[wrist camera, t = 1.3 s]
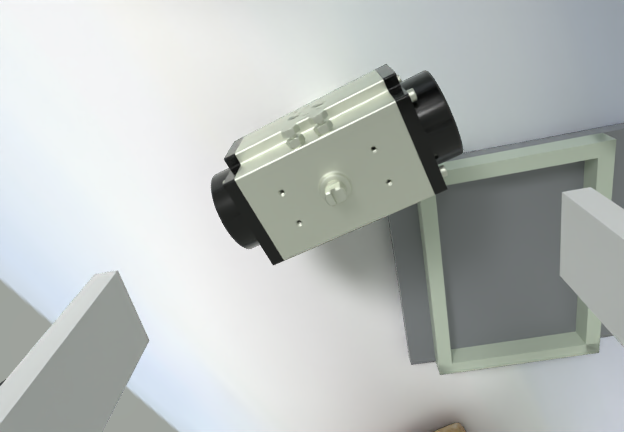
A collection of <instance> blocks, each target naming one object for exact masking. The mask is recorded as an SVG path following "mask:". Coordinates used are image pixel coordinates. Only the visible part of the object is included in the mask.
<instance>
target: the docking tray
mask: <svg viewBox="0 0 624 432" xmlns="http://www.w3.org/2000/svg"><path fill="white" fill-rule="evenodd" d="M441 165H444V166H445V168H446V170H447V173H448V176H446V177H444V178H443V179H444V181H445V184H446V186H447V189H448V190H446V191H443V192H441V193H439V194H436V195H434V196H432V197H429V198H427V199H425V200H423V201H420V202H418V203H416V204H413V205H411V206H409V207H406V208H404V209H402V210H400V211H397V212H395V213H393V214H390V215H388V218H389V225H390V231H391V238H392V245H393V252H394V258H395V265H396V272H397V278H398V285H399V292H400V299H401V305H402V312H403V319H404V325H405V332H406V339H407V346H408V352H409V358H410V362H411V365H413V364H420V363H427V362H434V361H436V364H437V367H438V370H439V373H440V375H443V374H450V373H457V372H464V371H472V370H479V369H486V368H493V367H500V366H507V365H514V364H522V363H529V362H536V361H543V360H550V359H557V358H564V357H572V356H579V355H586V354H593V353H599V344H600V338H601V337H608V336H613V335H612V334H611V332H610V331H609V330H608V329H607V328H606V327H605V326H604V325H603V323H602V322H601V321H600V320H599V319H598V318H597V317H596V316H595V314H594V313H593V312H592V311H591V310H590V309H589V308H588V307H587V305H586V304H585V303H584V302H583V301H582V300H581V299H580V298H579V296H578V295H577V294H576V293H575V292H574V291H573V290H572V289H571V288H570V286H569V285H568V284H567V283H566V282H565V281H564V280H563V279H562V277H561V276H560V246H561V208H562V192H565V191H571V190H577V189H582V188H588V187H591V188H593V189H594V190H596V191H597V192H599V193H600V194H602V195H603V196H605V197H606V198H608V199H609V200H611V201H612V202H614V203H615V204H617V205H618V206H620V207H621V208H623V209H624V123H621V124H616V125H611V126H605V127H600V128H595V129H590V130H584V131H579V132H574V133H568V134H563V135H558V136H552V137H547V138H542V139H536V140H531V141H526V142H520V143H515V144H510V145H504V146H499V147H494V148H488V149H483V150H478V151H472V152H467V153H462V154H461V155H459V156H457V157H455V158H452V159H450V160H448V161H446V162H443V163H441V164H439V165H438V166H441Z"/></svg>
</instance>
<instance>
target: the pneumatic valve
mask: <svg viewBox="0 0 624 432" xmlns="http://www.w3.org/2000/svg"><path fill="white" fill-rule="evenodd" d="M462 153H463V146H462V141H461V137H460V134H459V131H458V128H457V125H456V122H455V120H454V117H453V115H452V113H451V110H450V108H449V106H448V103H447V101H446V99H445V97H444V95H443V93H442V91H441V89H440V88H439V86H438V84H437V82H436V81H435V79H434V78H433V76H432V75H431V74H430V73H429V72H428V71H426V70H425V71H422V72H420V73H418V74H416V75H414V76H412V77H410V78H408V79H406V80H404V81H401V79H400V77H399V75H396V73H395V72H394V71H393V70H392V69H391V68H390V67H389V66H388V65H387V64H385V65H383V66H381V67H379V68H377V69H375V70H373V71H371V72H369V73H367V74H365V75H363V76H361V77H360V78H358V79H356V80H354V81H352V82H350V83H348V84H346V85H344V86H342V87H340V88H338V89H336V90H334V91H332V92H330V93H328V94H326V95H324V96H322V97H320V98H318V99H316V100H314V101H312V102H311V103H309V104H307V105H305V106H303V107H301V108H299V109H297V110H295V111H293V112H291V113H289V114H287V115H285V116H283V117H281V118H279V119H277V120H275V121H273V122H271V123H269V124H267V125H265V126H264V127H262V128H260V129H258V130H256V131H254V132H252V133H250V134H248V135H246V136H244V137H242V138H240V139H238V140H236V141H234V143H233V145H232V146H231V148H230V150H229V151H228V153H227V155H226V156H225V158H224V160H225V162H226V164H227V165H228V167H229V168H228V169H226V170H224V171H222V172H219V173H217V174H216V175H214V176H213V178H212V181H211V193H212V198H213V202H214V205H215V208H216V210H217V213H218V215H219V217H220V219H221V221H222V223H223V225H224V227H225V228H226V230H227V231H228V233H229V234H230V235H231V237H232V238H233V239H234V240H235V241H236V242H237V243H238V244H239V245H240V246H242V247H244V248H246V249H252V248H254V247H256V246H259V245H261V247H262V248H263V250H264V252H265V253H266V255H267V256H268V258H269V259H270V261H271V263H272V264H273V265H276V264H278V263H280V262H282V261H285V260H287V259H289V258H292V257H294V256H296V255H298V254H301V253H303V252H305V251H308V250H310V249H312V248H315V247H317V246H319V245H321V244H324V243H326V242H328V241H331V240H333V239H335V238H338V237H340V236H342V235H344V234H347V233H349V232H351V231H354V230H356V229H358V228H361V227H363V226H365V225H367V224H370V223H372V222H374V221H377V220H379V219H381V218H383V217H386V216H388V215H390V214H393V213H395V212H397V211H400V210H402V209H404V208H406V207H409V206H411V205H413V204H416V203H418V202H420V201H423V200H425V199H427V198H429V197H432V196H434V195H436V194H439V193H441V192H443V191H446V190H448V189H447V186H446V184H445V181H444V179H443V178H444V177H446V176H448V173H447V170H446V168H445V166H444V165H441V166H438V165H439V164H441V163H443V162H446V161H448V160H450V159H452V158H455V157H457V156H459V155H461V154H462Z"/></svg>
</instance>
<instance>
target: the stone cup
mask: <svg viewBox="0 0 624 432" xmlns="http://www.w3.org/2000/svg"><path fill="white" fill-rule="evenodd" d="M434 432H466V430H465V429H464V427H463V426H461V424H460V423H454V424H451V425H448V426H445V427H443V428H441V429H438V430H436V431H434Z"/></svg>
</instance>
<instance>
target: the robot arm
mask: <svg viewBox="0 0 624 432" xmlns="http://www.w3.org/2000/svg"><path fill="white" fill-rule="evenodd" d="M560 276H561V277H562V279H563V280H564V281H565V282H566V283H567V284H568V285H569V286H570V288H571V289H572V290H573V291H574V292H575V293H576V294H577V295H578V296H579V298H580V299H581V300H582V301H583V302H584V303H585V304H586V305H587V307H588V308H589V309H590V310H591V311H592V312H593V313H594V314H595V316H596V317H597V318H598V319H599V320H600V321H601V322H602V323H603V325H604V326H605V327H606V328H607V329H608V330H609V331H610V332H611V334H612V335H613V336H614V337H615V338H616V339H617V340H618V341H619V343H620V344H621V345H622V346H623V347H624V209H623V208H621V207H620V206H618V205H617V204H615V203H614V202H612V201H611V200H609V199H608V198H606V197H605V196H603V195H602V194H600V193H599V192H597V191H596V190H594V189H593V188H591V187H588V188H582V189H577V190H571V191H565V192H562V208H561V246H560ZM148 342H149V339H148V336H147V334H146V332H145V330H144V328H143V325H142V323H141V321H140V319H139V316H138V314H137V312H136V310H135V308H134V305H133V303H132V301H131V299H130V296H129V294H128V292H127V290H126V288H125V285H124V283H123V281H122V279H121V276H120V274H119V272H118V270H117V271H111V272H105V273H100V274H94V275H93V277H92V278H91V279H90V280H89V281H88V283H87V284H86V285H85V286H84V287H83V289H82V290H81V291H80V292H79V293H78V294H77V296H76V297H75V298H74V299H73V300H72V302H71V303H70V304H69V305H68V306H67V308H66V309H65V310H64V311H63V312H62V314H61V315H60V316H59V317H58V318H57V319H56V321H55V322H54V323H53V324H52V325H51V327H50V328H49V329H48V330H47V331H46V333H45V334H44V335H43V336H42V337H41V339H40V340H39V341H38V342H37V344H35V346H34V347H33V348H32V349H31V351H30V352H29V353H28V354H27V355H26V356H25V358H24V359H23V360H22V361H21V363H20V364H19V365H18V366H17V367H16V369H14V371H13V372H12V373H11V374H10V376H9V377H8V378H7V379H5V380H4V381H3V382H1V383H0V432H103V430H104V428H105V426H106V424H107V422H108V420H109V418H110V416H111V414H112V412H113V410H114V408H115V406H116V404H117V403H118V401H119V399H120V397H121V395H122V393H123V391H124V389H125V387H126V385H127V383H128V381H129V379H130V377H131V375H132V373H133V371H134V369H135V367H136V365H137V363H138V361H139V360H140V358H141V356H142V354H143V352H144V350H145V348H146V346H147V344H148Z"/></svg>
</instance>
